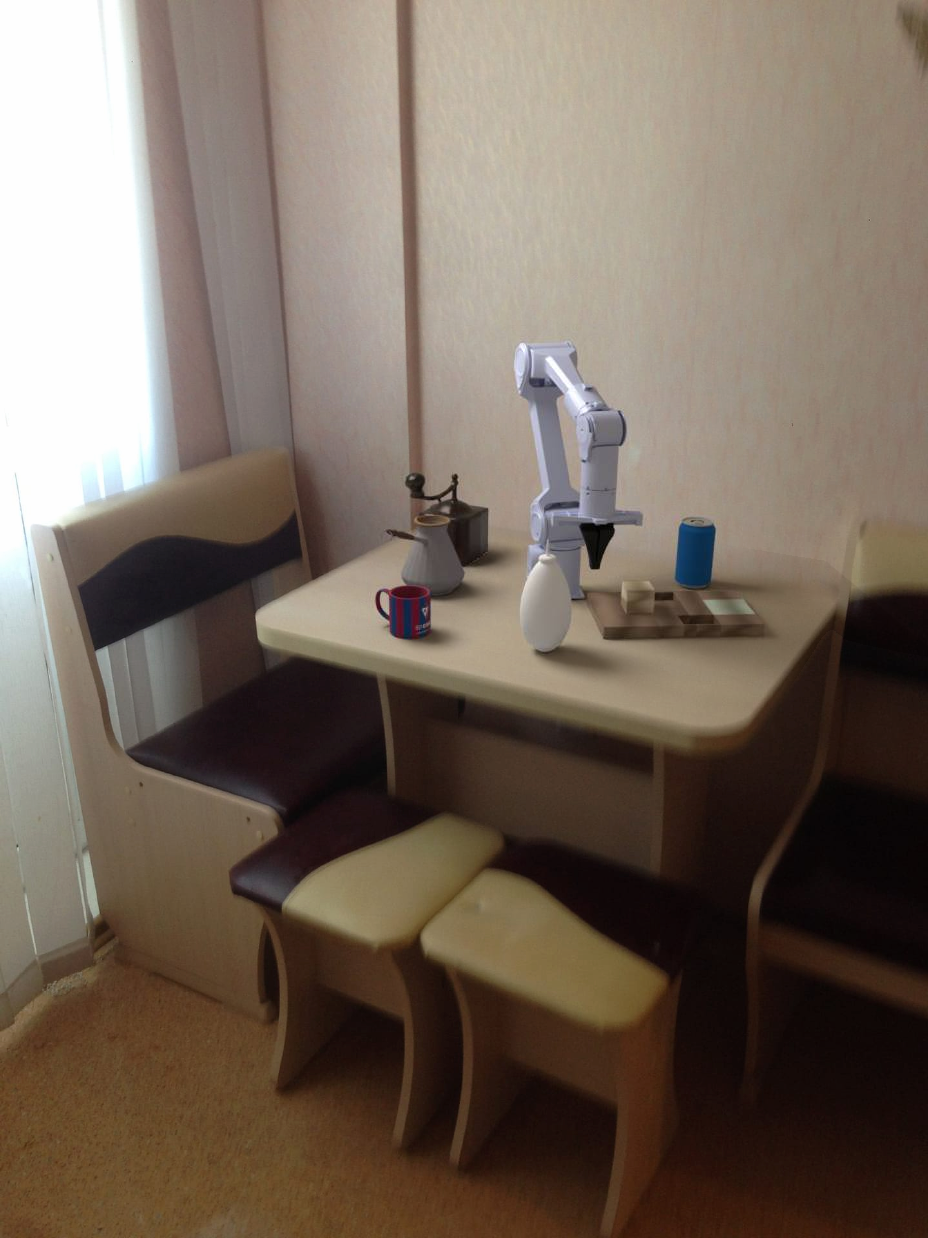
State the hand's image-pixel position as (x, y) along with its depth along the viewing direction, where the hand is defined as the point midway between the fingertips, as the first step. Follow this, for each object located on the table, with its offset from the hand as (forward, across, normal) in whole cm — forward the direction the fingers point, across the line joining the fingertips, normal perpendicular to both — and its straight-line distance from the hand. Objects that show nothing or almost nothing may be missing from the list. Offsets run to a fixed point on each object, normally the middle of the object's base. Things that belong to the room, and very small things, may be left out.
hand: (594, 567), depth 176 cm
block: (+7, +8, 0) cm, 10 cm away
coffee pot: (+10, -28, +13) cm, 33 cm away
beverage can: (+10, +22, +17) cm, 29 cm away
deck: (+9, +14, 0) cm, 16 cm away
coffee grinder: (+10, -23, +34) cm, 42 cm away
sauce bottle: (+10, -10, -12) cm, 18 cm away
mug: (+10, -32, -2) cm, 33 cm away
